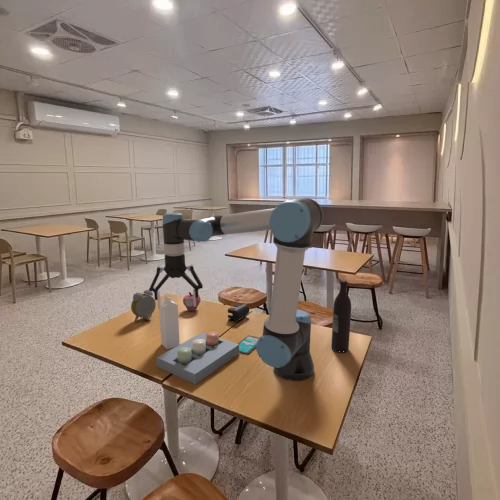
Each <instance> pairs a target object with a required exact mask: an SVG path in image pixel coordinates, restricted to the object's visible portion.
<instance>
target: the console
mask: <svg viewBox="0 0 500 500" xmlns="http://www.w3.org/2000/svg"><path fill="white" fill-rule="evenodd" d="M207 333H208V332H207ZM207 333H206V332H204V331H203V332H200V333H199V334H197V335H195V336H193V337H191V338H190V339H188V340H186V341H184V342H182V343H181V344H180V345H178V346H176V347H173V348H170V349H168V350H166V352H164V353H161V354H160V355H159V356H156V367H157V368H159V369H161V370H163V371H165V372H168V373H170V374H171V375H175V376H176V377H177V378H178V377H179V378H180V379H183V380H185V381H187V382H188V383H191V384H193V385H197V384H198V383H200V382H201V381H202V380H203V379H206V378H207V377H208V376H210V375H211V374H212V373H214V372H215V371H217V370H218V369H219V368H220V367H222V366H224V365H225V364H227V363H228V362H229V361H231V360H232V359H234V358H235V357H236V356H238V355H239V354H240V353H239V344H238V343H236V342H233V341H231V340H227V339H225V338H222V337H219V344H218V345H217V346H208V345H207V344H206V352H205V353H204V354H201V355H196V354H194V353H193V346H192V342H193V341H194V340H196V339H204V340H205V341H206V334H207ZM182 347H189V348H191V353H192V361H191V362H189V363H187V364H180V363H179V362H178V356H177V350H178V349H179V348H182Z"/></svg>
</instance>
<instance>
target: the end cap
mask: <svg viewBox="0 0 500 500" xmlns="http://www.w3.org/2000/svg"><path fill="white" fill-rule="evenodd" d="M227 313H228V315H227V318H228V322H233V323H236V322H238V321H240V320H241V319H243V318H245V317H246V316H248V315H249V314H250V307H249V306H248V305H247V304H246V303H243V304H239V303H237V304H235V305H234V307H230V308H227Z"/></svg>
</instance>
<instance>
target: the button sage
mask: <svg viewBox="0 0 500 500" xmlns="http://www.w3.org/2000/svg"><path fill="white" fill-rule="evenodd" d="M177 356H178V362H179V363H180V364H187V363H189V362H191V361H192V353H191V348H189V347H182V348H179V349H178V350H177Z"/></svg>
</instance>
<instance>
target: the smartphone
mask: <svg viewBox="0 0 500 500" xmlns="http://www.w3.org/2000/svg"><path fill="white" fill-rule="evenodd" d="M259 338H260V337H258V336H255V335H247V336H246V337H244V338H243V339H241V340H240V341H239V342H238V343H237V344H239V354H243V355H245V356H246V355H247V356H248V355H250V354H251V353H253V352H254V351H255V350H256V344H257V341H258V339H259Z"/></svg>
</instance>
